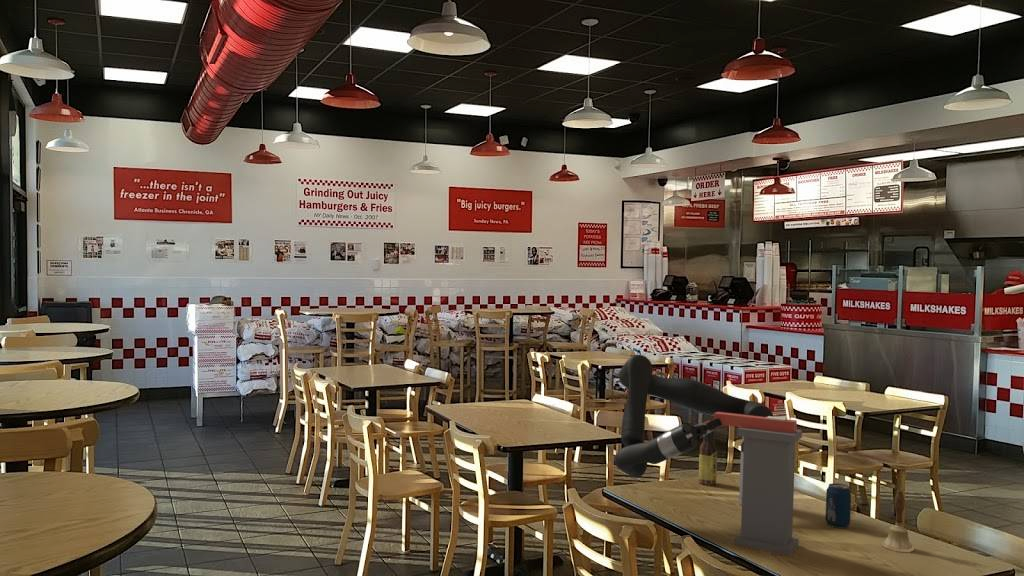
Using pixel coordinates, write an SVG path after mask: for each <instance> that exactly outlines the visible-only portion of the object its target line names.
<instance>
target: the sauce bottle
mask: <svg viewBox="0 0 1024 576" xmlns="http://www.w3.org/2000/svg"><path fill="white" fill-rule="evenodd" d="M715 429H716V428H715ZM715 429H714V431H713V432H711V433H709V434H707V435H706V436H704V437H702V438H703V439H702V440H703V441H702V442H701V443H700V446H699V456H698V483H699V484H701V485H703V484H704V485H705V486H715V485H716V484H717V470H718V469H717V468H718V449H717V446H716V442H715ZM704 485H703V486H704Z"/></svg>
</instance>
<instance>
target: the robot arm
mask: <svg viewBox="0 0 1024 576" xmlns="http://www.w3.org/2000/svg"><path fill="white" fill-rule="evenodd" d="M653 369H654V368H653V363H652V362H651V360H650V359H649V358H648V357H647V356H645V355H643V354H634V355H631V356H630V357H629V358H628V359H627V361H626V362H625V363H624V364H623V366H622V367H621V368H620V369H619V372H618V381H619V382H620V383H621V384H622V386H624V387H625V388H627V389H628V393H627V399H626V402H625V405H624V406H625V407H624V410H623V415H622V421H621V433H620V434H621V435H620V438H621V439H620V440H621V443H622V444H623V445H624V447H622V448H621V449H619V450H618V451H617V453H616V454H615V456H614V465H615V466H616V468H617V469H618V470H620V471H622V472H623V473H625V474H626V475H628V476H629V477H631V478H634V479H639V478H641V477H643V476H644V474H645V473H646V471H647V468H648V464H650V465H651V464H652V465H657V464H660V463H662V462H664V461H667V460H669V459H672V458H676V457H678V456H681V455H682V454H685V453H686V452H689V451H692V450H694V449H695V448H697V446H698V440H699V439H702V438H703V437H704V436H706V435H707V434H709V433H711V432H713V431H714V429H717V428H720V427H721V426H723V425H722V422H721V420H720V419H719V418H717V419H715V420H713V419H712V420H706V421H704V422H701V423H697V424H695V425H693V426H690V425H688V424H686V423H682V424H680V425H678V426H675V427H674V428H671V429H670V430H669V429H668V430H667V431H665V432H663V433H662V434H661V435H659V436H657V437H655V438H653V439H650V440H648V441H646V442H645V427H646V426H645V424H646V410H647V402H648V401H647V400H648V395H649V396H654V397H657V398H660V399H662V400H666V401H669V402H671V403H676V404H678V405H681V406H683V407H685V408H688V409H691V410H694V411H697V412H701V413H703V414H709V415H714V413H716V412H724V413H733V414H742V415H751V416H760V417H768V416H772V417H774V414H773V413H774V412H772V409H771V408H769V407H768V406H766V405H764V404H762V403H760V402H758V401H752V400H748V399H743V398H739V397H737V396H732V395H729V394H727V393H725V392H724V391H722V390H720V389H718V388H717V387H714V386H711V385H709V384H707V383H704V382H701V381H698V380H695V379H692V378H685V377H663V376H659V375H656V374H653V372H654V370H653ZM743 456H744V440H743V441H742V442H741V443H740V463H739V464H740V466H739V470H740V471H739V496H738V500H739V501H738V504H740V505H741V506H742V487H743Z"/></svg>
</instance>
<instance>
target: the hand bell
mask: <svg viewBox="0 0 1024 576" xmlns="http://www.w3.org/2000/svg"><path fill="white" fill-rule="evenodd" d="M905 501H906V500H905V495H904V493H903V490H901V489H897V491H896V494H895V497H894V508H895V513H896V515H895V525H892V526H890V528H889V531H888V535H887V537H886V539H885V540H883V542H882V543H881V546H882V547H883V546H884V547H886V548H891V549H899V550H900V549H910V548H912V546H913V544H911V542H910V539H909V533H908V529H907V528H906V527H904V526H903V512H904V509H905V504H906V503H905ZM884 547H883V548H884ZM886 548H885V549H886Z"/></svg>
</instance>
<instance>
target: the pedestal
mask: <svg viewBox="0 0 1024 576" xmlns="http://www.w3.org/2000/svg"><path fill="white" fill-rule="evenodd" d="M737 437H743V441H744V456H743V487H742V505H741V518H740V519H741V525H740V531H739V532H738V533H737V534H736V535H735V536H734V539H733V540H734V541H733V543H734V545H735V544H736V546H740V545H743V546H742V547H745V546H747V547H746V548H750V547H751V549H755V548H756V549H757V550H760V549H761V550H762V551H767V552H770V553H776V554H782V555H787V556H791V555H792V554H793V553H794V551H796V549H797V548H798V546H799V539H800V538H799V537H795V536H793V528H794V527H793V523H794V497H795V496H794V494H795V462H796V459H795V458H796V442H798V441H799V440H801V439H802V438H803V430H802V429H798V428H796V432H795V433H786V432H778V431H769V430H761V429H753V428H744V427H738V428H737ZM756 549H755V550H756Z"/></svg>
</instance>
